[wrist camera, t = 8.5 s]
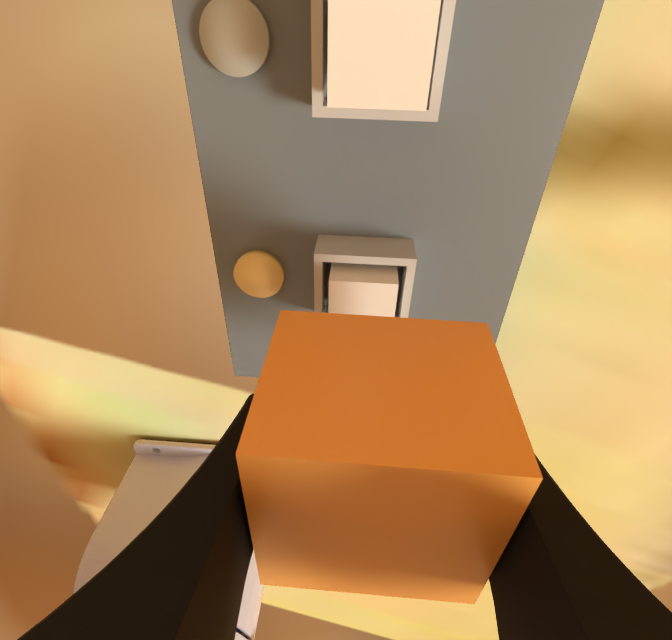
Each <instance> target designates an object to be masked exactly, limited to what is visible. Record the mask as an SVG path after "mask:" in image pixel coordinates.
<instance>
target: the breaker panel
mask: <svg viewBox="0 0 672 640" xmlns="http://www.w3.org/2000/svg"><path fill="white" fill-rule="evenodd" d="M603 3H604V0H441V5H440V13H439V20H438V28H437V35H436V43H435V50H434V57H433V65H432V72H431V80H430V87H429V95H428V102H427V109H426V111H411V110H384V109H357V108H329V107H327V65H328V0H172V4H173V10H174V16H175V22H176V28H177V33H178V40H179V46H180V51H181V58H182V64H183V69H184V75H185V81H186V87H187V93H188V99H189V105H190V111H191V117H192V123H193V128H194V135H195V141H196V147H197V153H198V159H199V165H200V171H201V177H202V183H203V189H204V195H205V201H206V207H207V213H208V218H209V224H210V231H211V237H212V242H213V249H214V255H215V261H216V266H217V273H218V278H219V284H220V290H221V296H222V302H223V308H224V314H225V320H226V326H227V332H228V338H229V344H230V350H231V356H232V362H233V368H234V373H235V375H236V376H249V377H260V374H261V371H262V367H263V364H264V361H265V358H266V355H267V351H268V348H269V345H270V342H271V339H272V335H273V332H274V329H275V326H276V323H277V319H278V316H279V313H280V310H290V311H306V312H321V313H328V302H329V276H330V270H331V264H332V262H335V263H354V264H372V265H391V266H397V271H398V282H399V286H398V294H397V302H396V310H395V317H401V318H417V319H433V320H449V321H465V322H480V323H488V326H489V329H490V331H491V334H492V337H493V340H494V343H496V340H497V337H498V334H499V331H500V327H501V324H502V321H503V318H504V315H505V312H506V309H507V305H508V302H509V299H510V296H511V293H512V290H513V286H514V283H515V280H516V277H517V274H518V271H519V268H520V264H521V261H522V258H523V255H524V252H525V249H526V246H527V242H528V239H529V236H530V233H531V230H532V227H533V223H534V220H535V217H536V214H537V211H538V208H539V205H540V201H541V198H542V195H543V192H544V189H545V186H546V183H547V179H548V176H549V173H550V170H551V167H552V164H553V160H554V157H555V154H556V151H557V148H558V145H559V142H560V138H561V135H562V132H563V129H564V126H565V123H566V120H567V116H568V113H569V110H570V107H571V104H572V101H573V98H574V94H575V91H576V88H577V85H578V82H579V79H580V75H581V72H582V69H583V66H584V63H585V60H586V57H587V53H588V50H589V47H590V44H591V41H592V38H593V35H594V31H595V28H596V25H597V22H598V19H599V16H600V12H601V9H602V6H603Z"/></svg>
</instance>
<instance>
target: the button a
mask: <svg viewBox="0 0 672 640" xmlns="http://www.w3.org/2000/svg"><path fill="white" fill-rule="evenodd" d="M398 286H399V282H398V271H397V266H391V265H372V264H354V263H335V262H332V264H331V270H330V276H329V302H328V313H337V314H353V315H369V316H385V317H395V310H396V302H397V294H398Z"/></svg>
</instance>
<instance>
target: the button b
mask: <svg viewBox="0 0 672 640" xmlns="http://www.w3.org/2000/svg"><path fill="white" fill-rule="evenodd" d="M440 5H441V0H328V65H327V107H329V108H357V109H384V110H411V111H426V109H427V102H428V95H429V87H430V80H431V72H432V65H433V57H434V50H435V43H436V35H437V28H438V20H439V13H440Z"/></svg>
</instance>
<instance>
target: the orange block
mask: <svg viewBox="0 0 672 640" xmlns="http://www.w3.org/2000/svg"><path fill="white" fill-rule="evenodd" d="M236 460H237V465H238V470H239V475H240V481H241V486H242V491H243V496H244V502H245V507H246V512H247V517H248V523H249V528H250V533H251V538H252V544H253V549H254V554H255V559H256V565H257V570H258V575H259V580H260V584H262V585H273V586H284V587H295V588H306V589H316V590H327V591H338V592H349V593H360V594H371V595H382V596H392V597H403V598H414V599H425V600H436V601H447V602H458V603H468V604H475V602H476V601H477V599H478V597H479V595H480V593H481V591H482V590H483V588H484V586H485V584H486V582H487V580H488V579H489V577H490V575H491V573H492V571H493V569H494V568H495V566H496V564H497V562H498V560H499V558H500V557H501V555H502V553H503V551H504V549H505V547H506V546H507V544H508V542H509V540H510V538H511V536H512V535H513V533H514V531H515V529H516V527H517V525H518V524H519V522H520V520H521V518H522V516H523V514H524V513H525V511H526V509H527V507H528V505H529V503H530V502H531V500H532V498H533V496H534V494H535V492H536V491H537V489H538V487H539V485H540V483H541V481H542V480H543V477H542V474H541V471H540V468H539V465H538V463H537V460H536V457H535V454H534V452H533V449H532V446H531V443H530V440H529V438H528V435H527V432H526V429H525V426H524V424H523V421H522V418H521V415H520V412H519V410H518V407H517V404H516V401H515V398H514V396H513V393H512V390H511V387H510V384H509V382H508V379H507V376H506V373H505V371H504V368H503V365H502V362H501V359H500V357H499V354H498V351H497V348H496V345H495V343H494V340H493V337H492V334H491V331H490V329H489V326H488V323H480V322H465V321H449V320H433V319H417V318H401V317H385V316H369V315H353V314H337V313H321V312H306V311H290V310H280V313H279V316H278V319H277V323H276V326H275V329H274V332H273V335H272V339H271V342H270V345H269V348H268V351H267V355H266V358H265V361H264V364H263V367H262V371H261V374H260V377H259V380H258V384H257V387H256V390H255V393H254V396H253V400H252V403H251V406H250V409H249V412H248V416H247V419H246V422H245V425H244V428H243V432H242V435H241V438H240V441H239V444H238V448H237V451H236Z"/></svg>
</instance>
